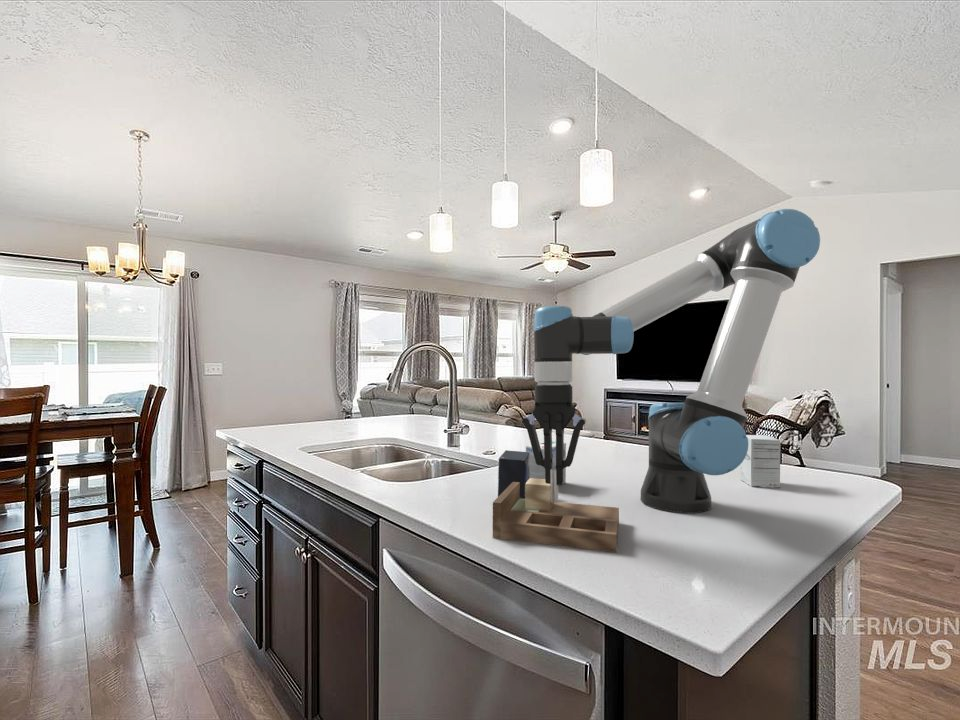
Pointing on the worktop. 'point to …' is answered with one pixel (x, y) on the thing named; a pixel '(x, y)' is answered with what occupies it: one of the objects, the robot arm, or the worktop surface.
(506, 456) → the small box
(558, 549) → the worktop surface
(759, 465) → the supplement box
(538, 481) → the maple block
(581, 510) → the tray
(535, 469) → the light bulb box
